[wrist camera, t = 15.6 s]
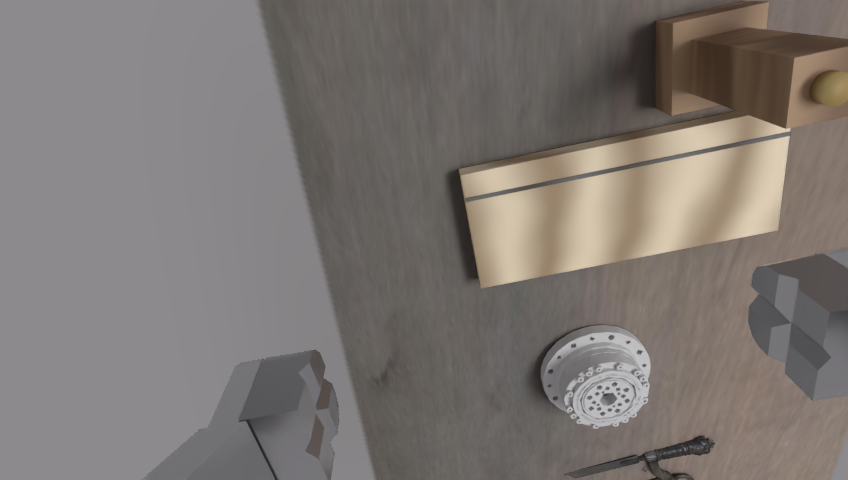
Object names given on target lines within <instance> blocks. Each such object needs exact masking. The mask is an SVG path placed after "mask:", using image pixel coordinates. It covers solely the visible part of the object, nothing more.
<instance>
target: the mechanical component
mask: <svg viewBox="0 0 848 480" xmlns="http://www.w3.org/2000/svg"><path fill="white" fill-rule="evenodd" d="M649 374H650V359H649V355H648V353H647V352H646V350H645V348H644V347H643V345H642V344H641V342H640V341H639V339H638V338H637V337H636V336H634V335H633V334H632V333H630V332H629V331H627V330H625V329H622V328H619V327H617V326H608V325H596V326H589V327H585V328H581V329H578V330H576V331H573V332H571V333H569V334H568V335H566V336H565V337H563V338H561V339H560V340H558V341H557V342H556V343H555V344H554V345H553V346H552V348H551V349H550V350H549V351H548V352H547V354H546V356H545V358H544V359H543V363H542V366H541V381H542V384H543V388H544V391H545V393H546V394H547V396H548V398H549V400H550V401H551V402H552V403H553V404H554V405H556V406H557V407H558V408H559V409H561V410H563V411H566V412H568V413H569V415H570V417H571V418H572V419H575V420H576V423H578V424H580V423H582V424H585V425H591V426H593V428H595V429H597V428H599V426H607V425H611V424H612V425H613V426H615V427H616V426H618V425H619V422H621V421H622V422H623V423H626V422H628V418H629V417H630V416H631V417H636V415H637V414H636V412H637V411H638V410H639V409H640V408H641V407H642V405H643V404H645V403H647V402H648V399H647V396H648V392H649V386H650V384H649V383H648V377H649Z"/></svg>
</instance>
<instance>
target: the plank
mask: <svg viewBox="0 0 848 480" xmlns="http://www.w3.org/2000/svg"><path fill="white" fill-rule="evenodd" d="M789 136H791V132H790V128H788V129H785V128H782V127H779V126H777V125H774V124H771V123H769V122H766V121H763V120H760V119H758V118H755V117H752V116H750V115H747V114H744V113H741V112H739V111H733V112H728V113H723V114H719V115H714V116H709V117H704V118H699V119H695V120H690V121H685V122H680V123H676V124H671V125H666V126H661V127H656V128H652V129H647V130H642V131H637V132H633V133H628V134H623V135H618V136H614V137H609V138H604V139H599V140H594V141H590V142H585V143H580V144H575V145H571V146H566V147H561V148H556V149H551V150H547V151H542V152H537V153H532V154H528V155H523V156H518V157H513V158H508V159H504V160H499V161H494V162H489V163H485V164H480V165H475V166H470V167H465V168H461V169H459V174H460V179H461V185H462V190H463V196H464V201H465V207H466V212H467V218H468V223H469V229H470V234H471V239H472V245H473V250H474V256H475V261H476V267H477V272H478V278H479V282H480V286H481V288H485V287H490V286H495V285H501V284H506V283H511V282H516V281H521V280H526V279H531V278H536V277H541V276H547V275H552V274H557V273H562V272H567V271H572V270H577V269H582V268H588V267H593V266H598V265H603V264H608V263H613V262H618V261H623V260H628V259H634V258H639V257H644V256H649V255H654V254H659V253H664V252H669V251H675V250H680V249H685V248H690V247H695V246H700V245H705V244H710V243H715V242H721V241H726V240H731V239H736V238H741V237H746V236H751V235H756V234H762V233H767V232H772V231H777V230H778V224H779V216H780V208H781V200H782V192H783V184H784V176H785V168H786V160H787V152H788V144H789Z"/></svg>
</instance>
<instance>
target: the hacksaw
mask: <svg viewBox="0 0 848 480" xmlns="http://www.w3.org/2000/svg"><path fill="white" fill-rule="evenodd" d="M714 444H715V443H713V440H710V441H709V442H708V441H707V440H706V439H705V436H699V437H697V438H696V439H694V440H690V441H687V442H684V443H680V444H676V445H673V446H670V447H666V448H662V449H659V450H654V451H650V452H646V453H644V455H643V456H639V457H638V456H633V457H629V458H625V459H621V460H617V461H613V462H609V463H605V464H601V465H598V466H593V467H590V468H585V469H581V470H577V471H573V472H569V473H567V474H564V475H568V474H569V475H568V476H571V477H573V478H579V477H583V476H587V475H591V474H595V473H600V472H604V471H608V470H612V469H616V468H620V467H624V466H628V465H632V464H636V463H639V461H643V460H646V461H647V462H649V467H650V468H651V471H652V473H653V474H654V475H655V476H656V477H658V478H656V479H653V480H678V479H681V478H688V479H690V480H694V479H693V478H692V477H691V476H689V475H684V474H681V475H677V476H676V474H674V475H671V474H670V473H669V472H665V471H664V470H661V469H660V467H659V464H658V461H660V460H661V459H669V458H674V457H679V456H683V455H685V456H686V455H690V454H695V455H702V454H708V453H709V452H710V448H713V447H714V446H713V445H714ZM657 460H658V461H657ZM649 467H648V468H649ZM648 468H647V469H648ZM647 469H646V470H647ZM646 470H644V471H646Z"/></svg>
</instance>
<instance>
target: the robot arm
mask: <svg viewBox="0 0 848 480" xmlns="http://www.w3.org/2000/svg"><path fill="white" fill-rule="evenodd" d="M751 286H752V288H753V289H754V290H755V291H756V292H757V293H758V294H759V295H758V296H757V297H756V298H755V300H754V301H753V302H752V303H751V305H750V306H749V315H748V323H749V326H750V330H751V333H752V336H753V338H754V340H755V341H756V343H757V344H758V346H759V347H760V348H761V349H762V350H763V351H764V352H765V354H766V355H767V356H769V357H771V358H774V359H776V360H779V361H782V362H784V363H785V374H786V375H787V376H788V377H789V378H790V379H791V380H792V381H793V382H794V383H795V384H796V385H797V386H798V387H799V388H800V389H801V390H802V391H803V392H804V393H805V394H806V395H807V396H808V397H809V398H810V399H811V400H812V401H815V400H822V399H829V398H836V397H842V396H848V248H840V249H836V250H831V251H827V252H822V253H817V254H815V255H812V256H807V257H802V258H797V259H792V260H787V261H782V262H777V263H771V264H766V265H761V266H757V267H756V269H755V271H754V273H753V276H752V284H751ZM324 371H325V364H324V362H323V359H322V357H321V354H320V353H319V352H318V351H317V350H310V351H304V352H298V353H293V354H286V355H280V356H275V357H269V358H265V359H258V360H252V361H248V362H242V363H240V364H238V365H237V366H235V368H234V370H233V372H232V375H231V377H230V379H229V381H228V384H227V386H226V388H225V390H224V393H223V395H222V397H221V399H220V402H219V404H218V406H217V409H216V411H215V413H214V415H213V417H212V420H211V422H210V424H209V426H208V428H204V429H200V430H198V431H197V432H196V433H195V434H194V435H193V436H191V437H190V438H189V439H188V440H187V441H186V442H185V443H183V444H182V445H181V446H180V447H179V448H178V449H177V450H175V451H174V452H173V453H172V454H171V455H170V456H168V457H167V458H166V459H165V460H164V461H163V462H161V463H160V464H159V465H158V466H157V467H156V468H155V469H153V470H152V471H151V472H150V473H149V474H148V475H147V476H145V477H144V478H143V479H142V480H331V473H332V467H333V460H334V454H335V453H334V451H333V448H332V446H331V443H330V442H331V440H332V439H333V438H334V437H335V436H336V435H337V433H338V425H339V413H338V412H339V410H338V402H337V398H336V393H335V390H334V388H333V385H332V384H331V383H330V382H328V381H327V380H326V379H324V378H323V376H324Z"/></svg>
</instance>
